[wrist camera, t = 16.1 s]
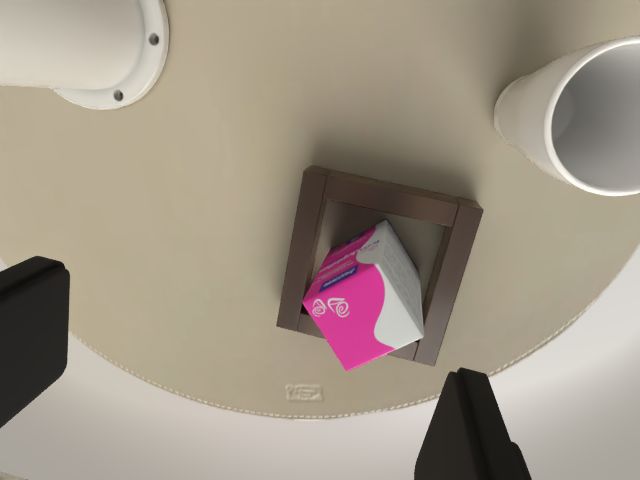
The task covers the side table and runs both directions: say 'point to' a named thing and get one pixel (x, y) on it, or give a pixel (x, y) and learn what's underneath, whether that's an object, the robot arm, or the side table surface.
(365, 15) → the side table surface
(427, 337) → the socket
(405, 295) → the supplement box
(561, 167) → the drinking glass
